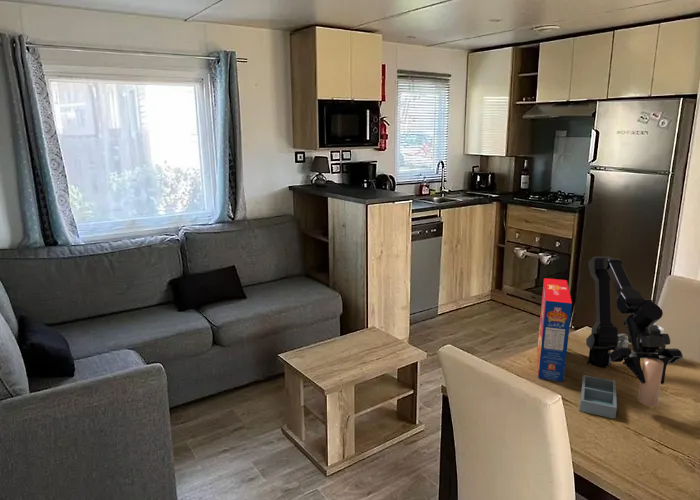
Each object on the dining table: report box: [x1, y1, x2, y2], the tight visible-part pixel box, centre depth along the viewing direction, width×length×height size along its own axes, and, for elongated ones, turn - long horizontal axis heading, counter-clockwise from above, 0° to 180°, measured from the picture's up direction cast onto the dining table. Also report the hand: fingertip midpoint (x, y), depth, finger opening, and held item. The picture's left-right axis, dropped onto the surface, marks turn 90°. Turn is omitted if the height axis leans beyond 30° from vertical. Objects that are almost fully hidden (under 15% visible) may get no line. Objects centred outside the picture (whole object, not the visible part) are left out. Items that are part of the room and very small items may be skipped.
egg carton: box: [616, 333, 630, 348], centre depth 201 cm, size 11×8×4 cm
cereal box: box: [537, 277, 573, 383], centre depth 182 cm, size 28×8×28 cm, turn 161°
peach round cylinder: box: [637, 358, 664, 407], centre depth 149 cm, size 5×5×13 cm
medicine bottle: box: [641, 324, 667, 360], centre depth 189 cm, size 7×7×12 cm
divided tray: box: [579, 374, 618, 420], centre depth 159 cm, size 18×10×4 cm, turn 154°
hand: (653, 383), depth 148 cm, fingers closed on peach round cylinder, 5 cm apart
